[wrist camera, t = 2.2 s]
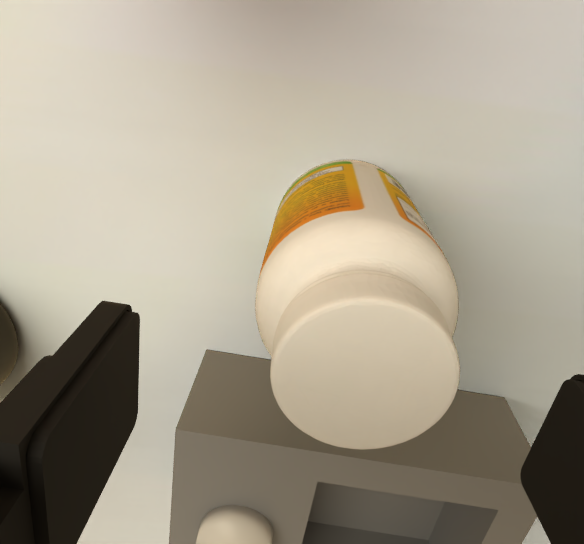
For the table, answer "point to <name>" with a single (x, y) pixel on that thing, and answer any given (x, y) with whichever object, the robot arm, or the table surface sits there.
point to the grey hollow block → (339, 472)
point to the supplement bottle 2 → (357, 310)
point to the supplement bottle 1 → (7, 345)
